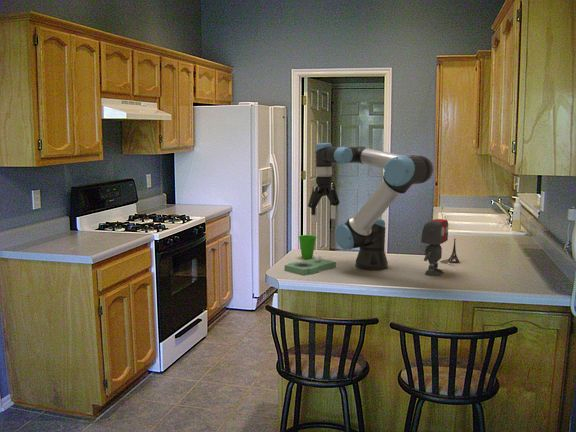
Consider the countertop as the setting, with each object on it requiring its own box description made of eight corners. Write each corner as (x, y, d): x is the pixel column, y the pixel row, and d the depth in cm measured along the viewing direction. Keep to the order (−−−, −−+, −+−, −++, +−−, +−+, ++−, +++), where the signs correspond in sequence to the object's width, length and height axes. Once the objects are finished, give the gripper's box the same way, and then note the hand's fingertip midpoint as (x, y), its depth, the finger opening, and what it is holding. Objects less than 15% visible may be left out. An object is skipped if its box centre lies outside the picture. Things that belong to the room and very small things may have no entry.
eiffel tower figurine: (451, 259, 287) (452, 233, 285) (470, 262, 279) (471, 235, 277) (435, 263, 276) (436, 236, 274) (454, 267, 269) (456, 239, 267)
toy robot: (435, 279, 244) (439, 211, 239) (415, 276, 248) (418, 209, 244) (450, 269, 262) (453, 205, 257) (431, 267, 267) (433, 203, 262)
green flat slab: (315, 262, 275) (315, 257, 274) (337, 267, 265) (337, 262, 264) (282, 270, 259) (283, 264, 259) (305, 275, 249) (305, 270, 249)
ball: (322, 261, 265) (322, 255, 265) (318, 262, 263) (318, 256, 262) (317, 260, 267) (317, 254, 267) (312, 261, 265) (313, 255, 265)
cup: (314, 260, 278) (315, 238, 277) (296, 259, 280) (296, 237, 278) (317, 256, 287) (317, 235, 285) (299, 255, 289) (300, 234, 287)
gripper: (334, 174, 279) (334, 217, 281) (300, 176, 261) (300, 222, 264) (346, 174, 273) (346, 218, 276) (312, 177, 256) (312, 223, 258)
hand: (324, 220), depth 270 cm, fingers open, 13 cm apart
